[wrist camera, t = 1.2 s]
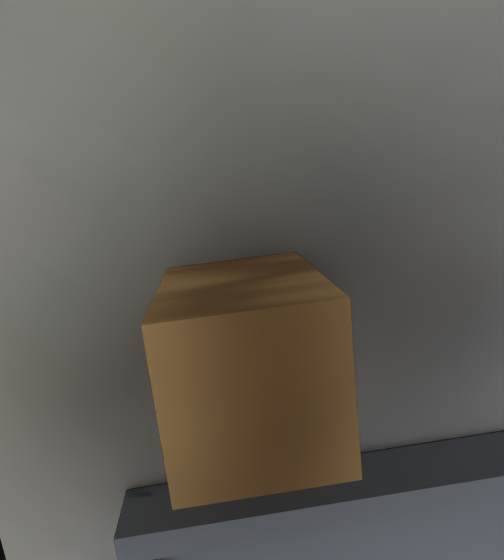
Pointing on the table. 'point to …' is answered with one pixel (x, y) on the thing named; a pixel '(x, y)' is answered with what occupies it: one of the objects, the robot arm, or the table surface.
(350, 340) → the block
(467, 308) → the table surface
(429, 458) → the tray
